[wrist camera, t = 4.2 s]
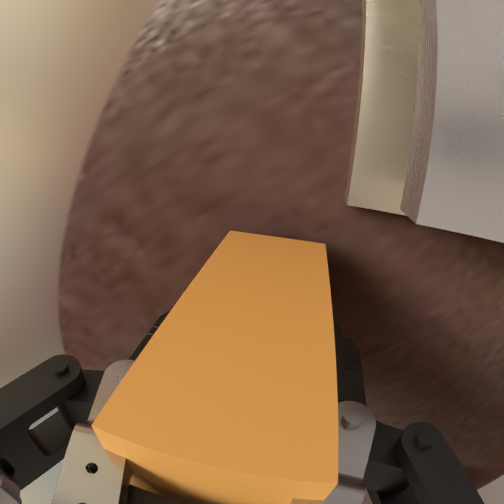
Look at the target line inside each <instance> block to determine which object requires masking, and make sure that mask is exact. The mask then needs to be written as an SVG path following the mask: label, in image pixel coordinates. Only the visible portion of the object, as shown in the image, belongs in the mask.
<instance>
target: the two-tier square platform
mask: <svg viewBox="0 0 504 504" xmlns="http://www.w3.org/2000/svg"><path fill="white" fill-rule="evenodd" d="M344 200H345V202H346V204H347V205H349V206H355V207H361V208H367V209H373V210H379V211H384V212H390V213H395V214H400V215H406V216H408V217H409V218H410V219H411V220H412V221H413V222H414V223H415V224H419V225H424V226H429V227H434V228H439V229H444V230H448V231H453V232H458V233H463V234H467V235H472V236H476V237H481V238H485V239H489V240H494V241H498V242H502V243H504V0H362V19H361V44H360V61H359V75H358V88H357V99H356V109H355V119H354V128H353V136H352V144H351V152H350V160H349V167H348V174H347V181H346V187H345V194H344Z"/></svg>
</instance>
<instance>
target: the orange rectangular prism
mask: <svg viewBox="0 0 504 504" xmlns="http://www.w3.org/2000/svg"><path fill="white" fill-rule="evenodd" d="M91 426H92V428H93V430H94V432H95V434H96V435H97V437H98V439H99V441H100V443H101V445H102V447H103V448H104V449H106V450H108V451H110V452H113V453H115V454H118V455H120V456H122V457H125V458H126V459H127V461H128V463H129V465H130V467H131V469H132V471H133V474H132V476H131V479H130V484H131V485H133V486H136V487H139V488H141V489H144V490H147V491H149V492H152V493H155V494H158V495H161V496H163V497H165V498H167V499H168V500H170V501H172V502H174V503H175V504H290V502H291V501H292V499H293V498H295V499H307V500H325V499H326V498H327V496H328V495H329V494H330V493H331V491H332V490H333V489H334V488H335V486H336V485H337V484H338V395H337V371H336V353H335V338H334V324H333V312H332V301H331V290H330V280H329V271H328V262H327V253H326V245H325V244H323V243H316V242H309V241H302V240H295V239H288V238H281V237H273V236H266V235H259V234H251V233H244V232H237V231H229V233H228V234H227V235H226V237H225V238H224V239H223V241H222V242H221V243H220V245H219V246H218V247H217V249H216V250H215V251H214V253H213V254H212V255H211V257H210V258H209V259H208V261H207V262H206V263H205V265H204V266H203V267H202V269H201V270H200V271H199V273H198V274H197V276H196V277H195V278H194V280H193V281H192V282H191V284H190V285H189V286H188V288H187V289H186V291H185V292H184V293H183V295H182V296H181V297H180V299H179V300H178V301H177V303H176V304H175V306H174V307H173V308H172V310H171V311H170V313H169V314H168V315H167V317H166V318H165V319H164V321H163V322H162V324H161V325H160V326H159V328H158V329H157V331H156V332H155V333H154V335H153V336H152V338H151V339H150V341H149V342H148V343H147V345H146V346H145V348H144V349H143V350H142V352H141V353H140V355H139V356H138V358H137V359H136V360H135V362H134V363H133V365H132V366H131V368H130V369H129V370H128V372H127V373H126V375H125V376H124V378H123V379H122V381H121V382H120V384H119V385H118V386H117V388H116V389H115V391H114V392H113V394H112V395H111V397H110V398H109V400H108V401H107V403H106V404H105V406H104V407H103V409H102V410H101V411H100V413H99V414H98V416H97V417H96V419H95V420H94V422H93V423H92V425H91Z"/></svg>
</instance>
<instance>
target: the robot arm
mask: <svg viewBox="0 0 504 504" xmlns="http://www.w3.org/2000/svg"><path fill="white" fill-rule="evenodd" d="M170 311H171V310H170ZM170 311H169V312H167V313H165V314H164V315H162V316H160V318H159V319H158V320H157V322H156V323H155V324H154V326H153V327H152V328H151V330H150V331H149V332H148V335H146V336H145V338H144V339H143V340H142V342H141V343H140V345H139V346H138V347H137V349H136V350H135V351H134V353H133V354H132V356H131V357H130V358H129V360H121V361H117V362H115V363H113V364H111V365H110V366H109V367H108V368H107V369H106V370H105V371H94V370H82V368H81V365H80V363H79V361H78V360H77V359H76V358H75V357H73V356H70V355H57V356H54V357H51V358H49V359H48V360H46V361H45V362H43V363H42V364H40V365H38V366H36V367H35V368H33V369H31V370H30V371H28V372H27V373H25V374H23V375H22V376H20V377H18V378H17V379H15V380H14V381H12V382H10V383H9V384H7V385H5V386H4V387H2V388H0V504H22V501H21V498H20V490H22V489H23V488H25V487H26V486H27V485H29V484H30V483H32V482H33V481H34V480H36V479H37V478H38V477H40V476H41V475H42V474H44V473H45V472H46V471H48V470H49V469H50V468H52V467H53V466H54V465H56V464H57V463H59V462H60V461H61V460H62V459H64V460H63V464H62V467H61V471H60V474H59V478H58V481H57V485H56V489H55V493H54V497H53V500H52V504H175V503H174V502H172V501H170V500H168V499H167V498H165V497H163V496H161V495H158V494H155V493H152V492H149V491H147V490H144V489H141V488H139V487H136V486H133V485H131V484H130V479H131V476H132V474H133V471H132V469H131V467H130V465H129V463H128V461H127V459H126V458H125V457H122V456H120V455H118V454H115V453H113V452H110V451H108V450H106V449H104V448H103V447H102V445H101V443H100V441H99V439H98V437H97V435H96V434H95V432H94V430H93V428H92V426H91V425H92V423H93V422H94V420H95V419H96V417H97V416H98V414H99V413H100V411H101V410H102V409H103V407H104V406H105V404H106V403H107V401H108V400H109V398H110V397H111V395H112V394H113V392H114V391H115V389H116V388H117V386H118V385H119V384H120V382H121V381H122V379H123V378H124V376H125V375H126V373H127V372H128V370H129V369H130V368H131V366H132V365H133V363H134V362H135V360H136V359H137V358H138V356H139V355H140V353H141V352H142V350H143V349H144V348H145V346H146V345H147V343H148V342H149V341H150V339H151V338H152V336H153V335H154V333H155V332H156V331H157V329H158V328H159V326H160V325H161V324H162V322H163V321H164V319H165V318H166V317H167V315H168V314H169V313H170ZM333 324H334V323H333ZM334 338H335V353H336V371H337V395H338V484H337V485H336V486H335V488H334V489H333V490H332V491H331V493H330V494H329V495H328V496H327V498H326V499H325V500H307V499H295V498H293V499H292V501H291V502H290V504H362V502H363V499H364V495H365V489H366V488H367V491H368V493H369V496H370V498H371V500H372V503H373V504H484V503H483V501H482V499H481V497H480V495H479V494H478V492H477V490H476V488H475V487H474V485H473V483H472V482H471V480H470V478H469V477H468V475H467V473H466V472H465V470H464V468H463V467H462V465H461V464H460V462H459V460H458V459H457V457H456V455H455V454H454V452H453V451H452V449H451V447H450V446H449V444H448V443H447V441H446V440H445V438H444V436H443V435H442V433H441V432H440V431H439V430H438V429H437V428H436V427H435V426H433V425H431V424H428V423H425V422H416V423H413V424H410V425H409V426H407V427H406V428H405V430H401V429H397V428H394V427H390V426H387V425H384V424H382V423H380V422H379V421H377V420H376V418H375V415H374V414H373V412H372V411H371V410H370V409H369V408H368V407H367V405H366V398H365V390H364V382H363V375H362V372H361V370H362V368H361V363H360V354H359V349H358V348H357V347H356V345H355V344H354V342H353V341H352V340H349V339H341V332H340V325H339V324H334ZM56 407H57V408H58V410H59V411H58V412H56V413H55V414H53V415H52V416H50V417H49V418H48V419H46V420H45V421H43V422H42V423H40V424H39V425H37V426H36V427H35V428H33V429H30V430H29V427H30V426H31V425H32V424H33V423H34V422H36V421H37V420H39V419H40V418H41V417H43V416H44V415H46V414H47V413H49V412H50V411H52V410H53V409H55V408H56Z"/></svg>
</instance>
